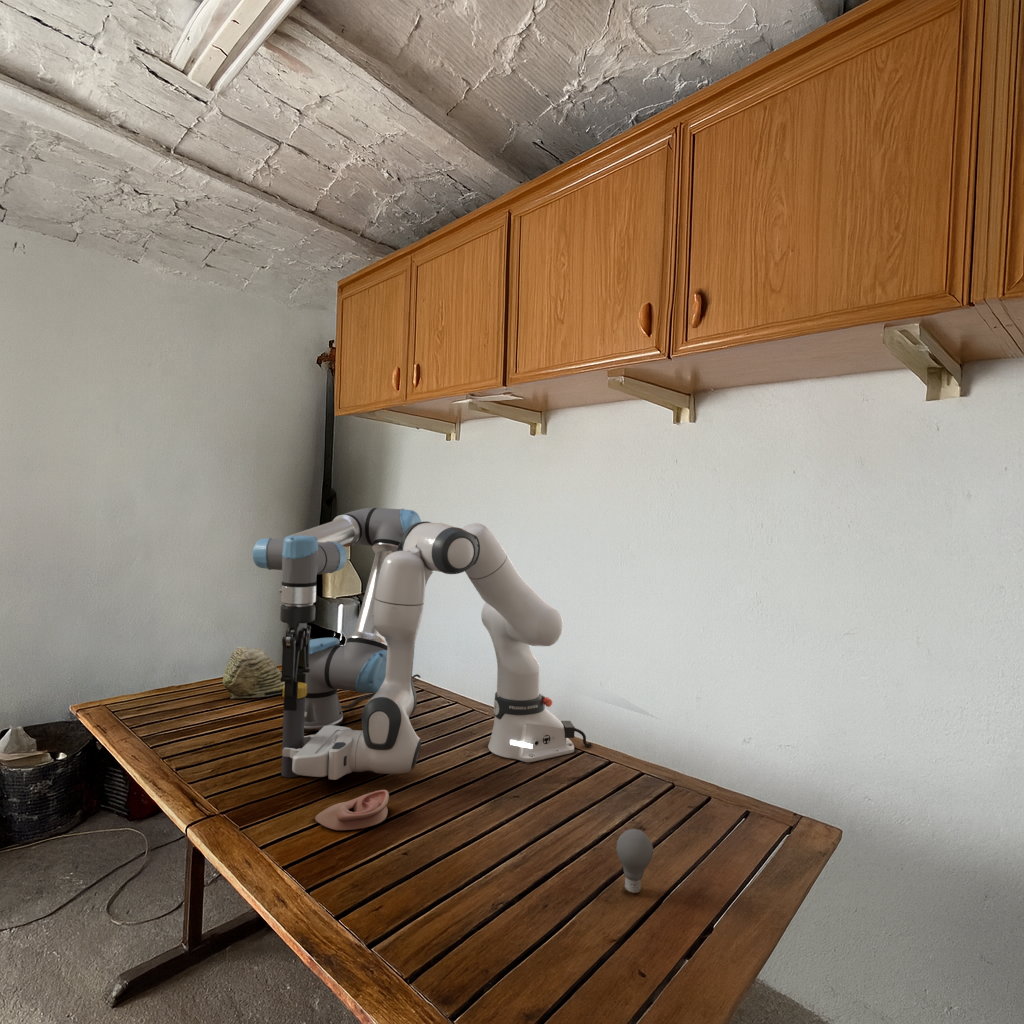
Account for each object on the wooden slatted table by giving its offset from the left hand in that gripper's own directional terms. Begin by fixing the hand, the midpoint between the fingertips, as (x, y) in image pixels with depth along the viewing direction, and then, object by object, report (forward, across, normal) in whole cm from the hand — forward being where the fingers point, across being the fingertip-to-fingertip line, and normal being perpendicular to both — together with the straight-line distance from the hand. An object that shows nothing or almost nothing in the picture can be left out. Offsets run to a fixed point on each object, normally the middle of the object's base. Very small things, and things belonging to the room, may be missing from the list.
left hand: (294, 705), depth 144 cm
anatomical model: (+16, +19, +18) cm, 30 cm away
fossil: (+16, -55, -29) cm, 64 cm away
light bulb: (+16, +41, +69) cm, 82 cm away
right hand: (+9, 0, -1) cm, 9 cm away
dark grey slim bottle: (+16, 0, 0) cm, 16 cm away
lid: (-4, 0, 0) cm, 4 cm away
